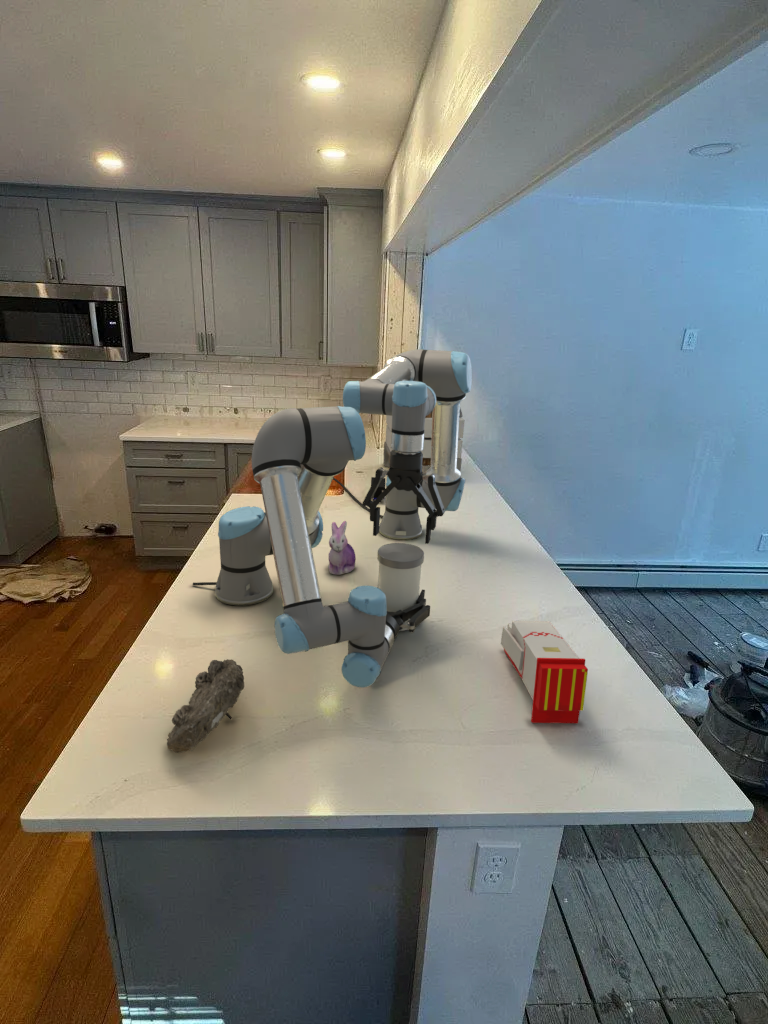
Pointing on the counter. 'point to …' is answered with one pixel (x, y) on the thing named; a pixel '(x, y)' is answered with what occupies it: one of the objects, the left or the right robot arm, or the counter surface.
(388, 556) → the lid
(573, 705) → the toy
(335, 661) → the counter surface
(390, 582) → the jar
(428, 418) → the white slatted crate
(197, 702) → the fossil
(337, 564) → the figurine
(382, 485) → the figurine character
